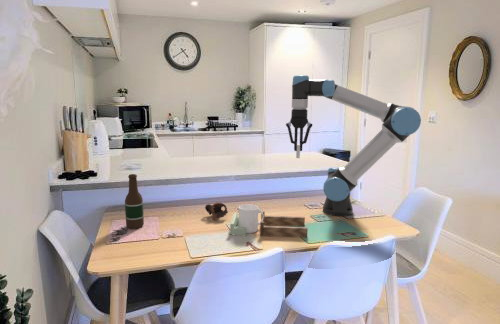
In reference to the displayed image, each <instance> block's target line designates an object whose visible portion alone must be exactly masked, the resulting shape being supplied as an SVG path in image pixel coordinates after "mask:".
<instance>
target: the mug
mask: <svg viewBox="0 0 500 324" xmlns="http://www.w3.org/2000/svg"><path fill="white" fill-rule="evenodd" d="M262 211H263V210H261V209H260V208H259V206H258V205H255V204H251V203H248V204H241V205H240V204H239V206H238V217H239V224H237V227H245V228H246V234H255V233H256V232H257V231H258V229H259V226H260V221H263V218H264V214H263V212H262ZM259 214H260V215H261V214H262V215H263V218H262V220H260V221H259Z"/></svg>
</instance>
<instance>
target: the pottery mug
mask: <svg viewBox="0 0 500 324" xmlns="http://www.w3.org/2000/svg"><path fill="white" fill-rule="evenodd" d="M223 207H224V210H223V209H222V208H223ZM204 209H205V211H206V212H207V213H208V215H209V216H211V215H212V220H214V221H216V220H217V219H222V218H224V217H225V216H227V214H228V213H229V212H228V207H227V205H226V204H225V203H223V202H215V203H213V204H210V203H209V204H208V203H207V204H206V205H205V207H204Z"/></svg>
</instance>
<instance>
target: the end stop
mask: <svg viewBox="0 0 500 324" xmlns="http://www.w3.org/2000/svg"><path fill="white" fill-rule="evenodd" d="M236 225H237V226H236ZM238 225H239V216H238V212H233V215H232V218H231V221H230V225H229V226H230V229H229V231H230V232H229V233H230V234H235V235H234V236H246V234H247V233H246V228H245V227H238ZM230 234H229V235H230Z"/></svg>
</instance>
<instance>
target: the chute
mask: <svg viewBox="0 0 500 324" xmlns="http://www.w3.org/2000/svg"><path fill="white" fill-rule="evenodd" d="M261 211H262V212H263V214H264V218H263V215H262V214H261V213H260V219H261V220H262V218H263V221H261V220H260V221H259V222H260V225H259V226H260V227H259V230H260V231H259V236H260V237H280V238H281V237H283V238H285V237H286V238H308V231H309V229H308V226H307V227H306V226H305V224H306V223H305V222H306V221H305V220H306V218H305V216H294V215H293V216H292V215H291V216H289V215H288V216H287V215H286V216H285V215H265V213H266V212H265V211H263V210H261Z"/></svg>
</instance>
